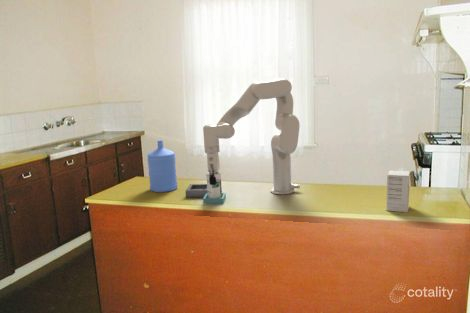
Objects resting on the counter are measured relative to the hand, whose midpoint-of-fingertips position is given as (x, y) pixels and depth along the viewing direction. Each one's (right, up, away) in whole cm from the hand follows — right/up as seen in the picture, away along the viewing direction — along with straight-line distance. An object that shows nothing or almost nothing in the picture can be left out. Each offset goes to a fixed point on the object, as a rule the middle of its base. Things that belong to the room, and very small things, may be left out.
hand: (214, 181), depth 221 cm
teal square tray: (0, -10, +2) cm, 10 cm away
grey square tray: (-9, -7, +15) cm, 19 cm away
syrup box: (0, -10, +2) cm, 10 cm away
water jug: (-30, -6, +29) cm, 42 cm away
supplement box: (+85, -11, -23) cm, 89 cm away
